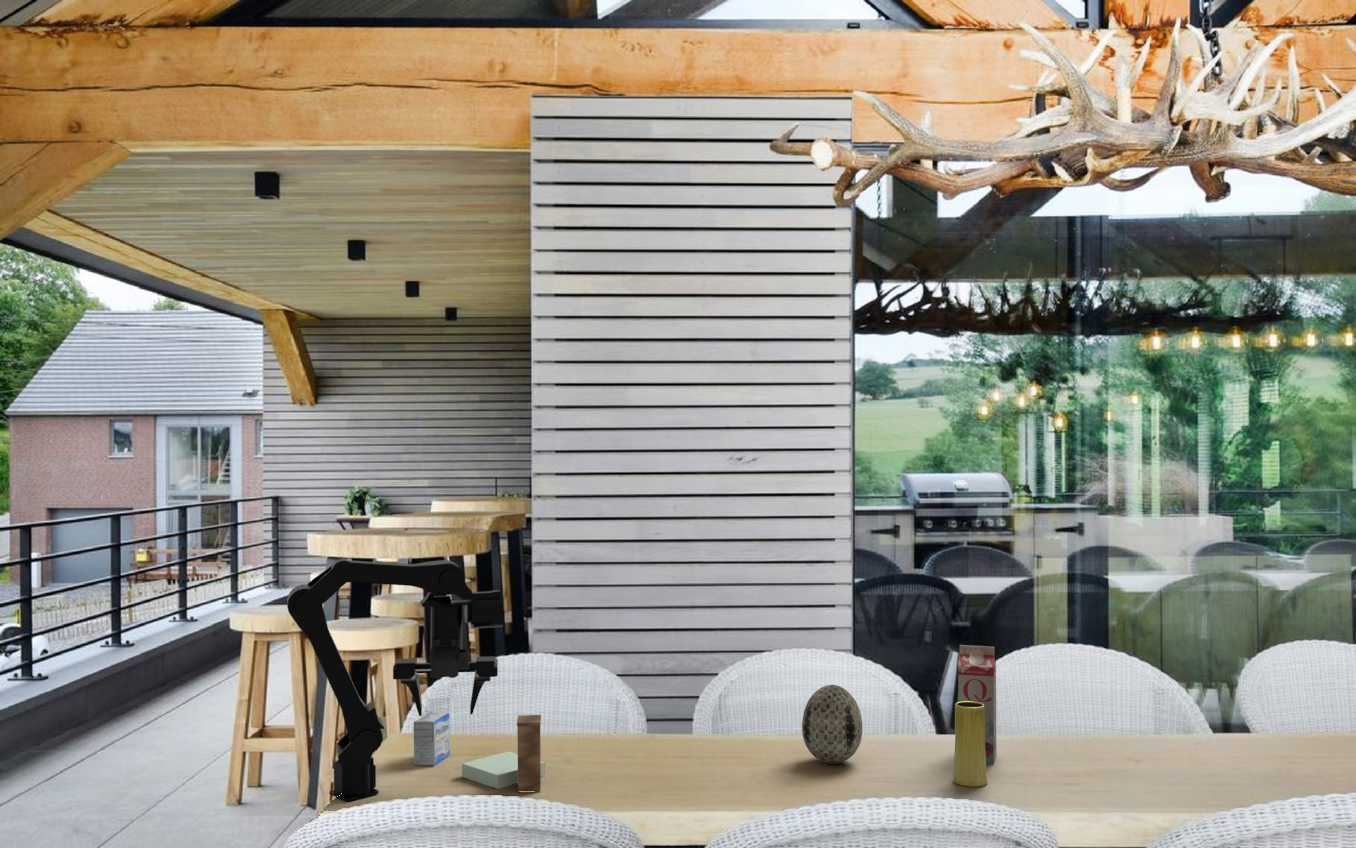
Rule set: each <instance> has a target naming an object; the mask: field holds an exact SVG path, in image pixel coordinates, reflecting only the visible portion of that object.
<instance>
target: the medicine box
mask: <svg viewBox="0 0 1356 848" xmlns="http://www.w3.org/2000/svg"><path fill="white" fill-rule="evenodd" d="M450 717H451V715H450V712H444V711H443V712H442V711H432V712H431V711H430V712H429V713H428V714H426V715H423V716H421V717H420V718H418V719H417V720H416V721H413V763H414V765H415V766H431V767H432V766H433V767H435V766H437V765H439V764H440V763H441V762H442V761H443V760H445V759H447V758H448V757H449V756H450V755H451V727H450V726H451V724H450V723H451V721H450V720H451V718H450Z"/></svg>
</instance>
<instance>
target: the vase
mask: <svg viewBox="0 0 1356 848" xmlns="http://www.w3.org/2000/svg"><path fill="white" fill-rule="evenodd" d="M954 725H955V726H954V729H955V730H954V755H953V756H954V757H953V778H952V781H953V782H954V783H955V784H956V785H959V786H962V787H970V788H971V787H972V788H979V787H983V786H985V785H987V784H988V777H987V776H988V775H987V763H986V754H985V720H984V704H982V703H979V702H974V701H960V702H958V701H957V702H956V703H955V704H954Z"/></svg>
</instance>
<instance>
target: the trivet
mask: <svg viewBox="0 0 1356 848" xmlns="http://www.w3.org/2000/svg"><path fill="white" fill-rule="evenodd" d="M545 776H546V761H545V762H544V761H542V760H541V778H542V777H545ZM461 777H462V778H465V779H468V780H470V781H473V782H476V783H479V784H482V785H485V786H488V787H490V788H493V787H494V789H496V790H500V789H502V788H501V787H503V788H506V787H510V786H509V785H511V786H513V785H512V784H514V785H516V784H515V783H517V782H518V753H515V752H512V751H505V752H501V753H497V754H494V755H490V756H485V757H482V758H478V759H475V760H474V759H473V760H470V761H466V762H462V763H461Z"/></svg>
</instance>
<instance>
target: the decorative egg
mask: <svg viewBox="0 0 1356 848" xmlns="http://www.w3.org/2000/svg"><path fill="white" fill-rule="evenodd" d="M801 719H802V722H801V733H802V738H803V741H804V745H805V747H806V748H807V750H808V751H809V753H810V754H811V755H812V756H813V757H815V759H817V760H819V761H820V762H822V763H824V764H825V763H826V764H830V765H836V764H842V763H843V762H846V761H848V760H849V759H850V758H851V757H852V756H854V755H855V754H856V752H857V750H858V749H859V747H860V744H861V741H862V737H863V731H864V730H863V719H862V713H861V711H860V708H859V705H858V703H857V701H856V700H855V698H854V696H853V695H852V694H851V693H850V692H849V691H848V690H847V689H845V688H844V687H842V686H839V685H836V684H827V685H824V686H821V687H820V688H819V689H817V690H816V691H815V692H814V693H812V695H811V697H809V699H808V701H807V703H806V705H805V708H804V711H803V715H802V718H801Z"/></svg>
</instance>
